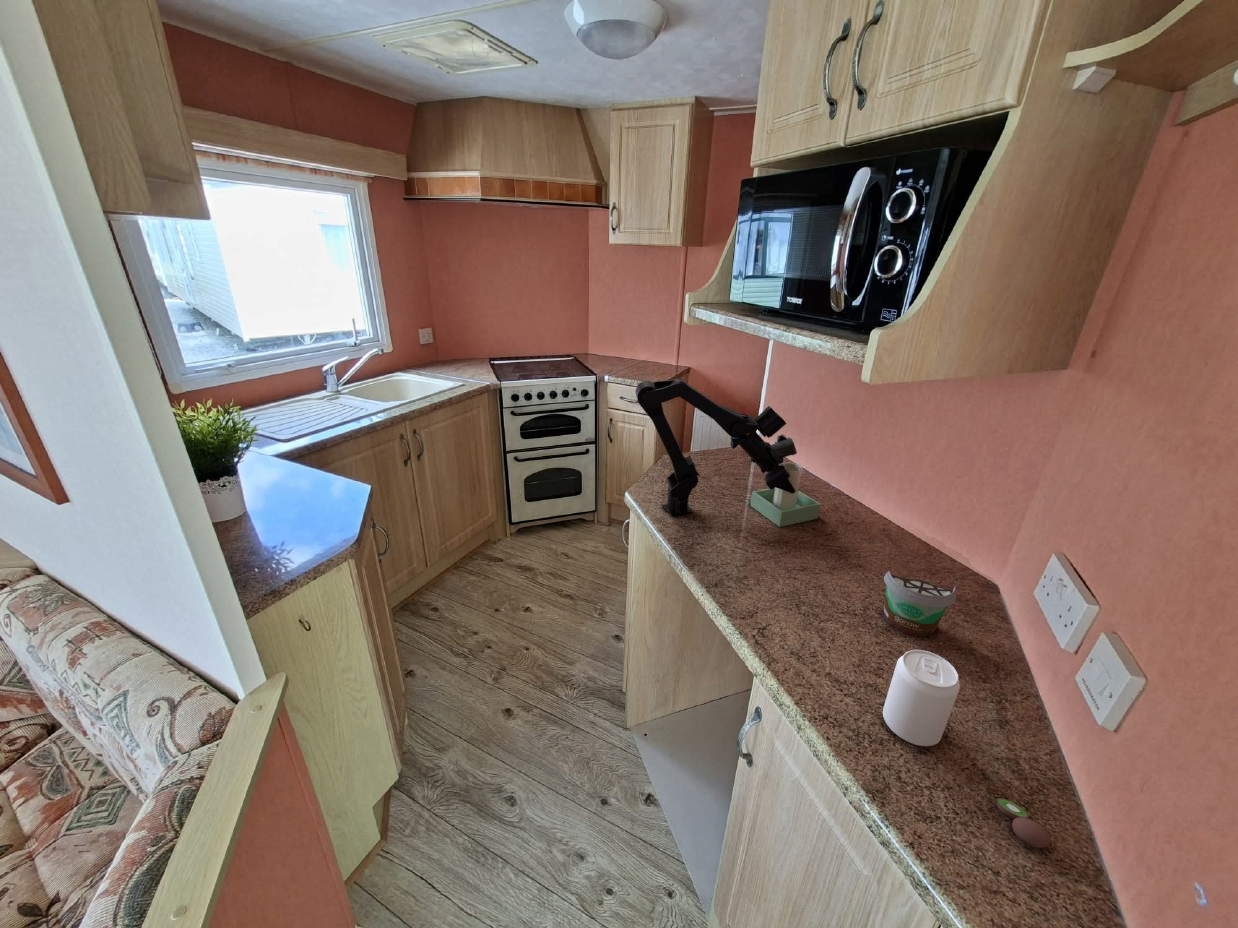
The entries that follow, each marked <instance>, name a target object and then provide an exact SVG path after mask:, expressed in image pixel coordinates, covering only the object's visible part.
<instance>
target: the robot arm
mask: <svg viewBox="0 0 1238 928" xmlns="http://www.w3.org/2000/svg"><path fill="white" fill-rule="evenodd" d="M635 396H636V400H637V402H638V404H639V406H640V407H641V409H642V410H643V411H644V412H645V414H646V415H647V416H648V417H649V418H650V420H651V421H652V423H653V426H654V428H655V430H656V432H657V434H658V436H659V438H660V440H661V442H662V444H663V447H664V448H665V450H666V452H667V454H668V457H669V459H670V462H671V466H672V470H673V472H672V473H670V474H669V475H668V476H667V477H666V482H667V485H668V487H667V503H665V504H662V508H663V509H664V510H665V511H666V513H668V514H669V515H670V516H671V517H676V516H682V515H686V514H691V513H692V512H693V510H692V509H691V508H690V507H689V497H690V495H691V494H692V491H693V489H694V488H696V487H697V485H698V483H699V476H700V473H699V470H698V469H697V467H696V464H695V463H694V461H693V459H692V456H691V454H689V455H687V456H685V455H684V453H683V452H682V450H681V447H680V445H679V443H678V441H677V438H676V437H675V435H674V432H673V430H672V428H671V426H670V424H669V421H668V419H667V417H666V415H665V412H664V408H663V407H664V406H663V403H667V402H669V401H671V400H673V399H677V398H681V399H682V400H684V401H685V402H686V403H688V404H689V405H691V406H692V407H694V408H696V409H697V410H699V411H700V412H701V413H703V414H705V415H706V416H707V417H709V418H711V419H712V420H713V421H714V422H715V423H716V424H717V425H718V426H719V427H720V428H721V429H722V430H723V431H724V432H725V433H726V434H727V435H728V436H729V437H730V444H729V445H730V447H731V449H732V450H734V449H736V448H738V446H739V447H740V448H741V449H742V450H743V451H744V452H745V454H746V455H747V456H748V457H749V458H750V461H751V462H752V463H753V464H755V465H757V467H758V468H759V469H760V472H761V473H762V474H765V473H766V474H765V476H764V482H765V485H766V486H767V487H768V489H769V488H770V489H774V488H775V487H776V488H779V489H781V490H784V491H787V492H789V493H792V494H793V493H795V492H796V491H795V489H794V487H793V486H792V484H791V482H790V481H789V479H788V478H789V477H790V474H789V471H788V469H786V468H785V466H780V465H779V464H781V463H784V458H787V457H791V456H795V455H797V454H798V450H797V448H796V445H795V442H794V440H793V438H791V437H787V436H786V435H784V434H780V435H777V439H776V441H775V442H774V443H773V444H771V443H770V442H769V441H765V440H764V439H763V438H762V437H761V436H763V437H764V438H768V439H769V438H772V437H773V436H774V435H776V433H777V432H779V431H780V430H781V429H783V428H784V427H785V426H786V425H787V422H786V421H785V420H784V418H783V417H782V416H780V414H778V413H777V412H776V411H775V410H774V409H773V408H772V407H771V406H770V405H768V406H767V407H765V409H763V411H762V412H761V413H759V414H758V415H757V416H756V417H755V418H753V417H752V416H750V415H743V414H740V413H739V412H738V411H736V410H733V409H731V408H729V407H726V406H723V405H720V404H718V403H717V402H716V401H714V400H712V399H711V398H710V397H708V396H706V395H705V394H704V393H702V392H700V390H697V389H696V388H694V387H693V386H691V385H690V384H689V383H687V382H686V381H685V380H684V379H682V378H675V379H669V380H668V379H667V380H657V381H651V380H644V381H641V382H639V383H638V384H637V386H636V387H635ZM757 431H758V432H759V433H760V434H761V436H760V435H759V433H758V432H757Z"/></svg>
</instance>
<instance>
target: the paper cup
mask: <svg viewBox="0 0 1238 928" xmlns="http://www.w3.org/2000/svg"><path fill="white" fill-rule="evenodd" d="M779 465H780V466H785V468H786V469H788V471H789V474H790V477H789V478H788V479H789V481H790V482H791V484H792V486H793V487H794V489H795V491H796V492H795V493H793V494H792V493H789V492H787V491H784V490H781V489H779V488H776V487H775V492H774V499H773V505H774V506H776V507H777V508H779V509H780V510H782V511H784V510H789V509H793V508H796V504H797V498H798V492H799V491H800V485H801V479H802V474H803V467H802V466H801V465H799V464H797V463H795V462H783V463H781V464H779Z"/></svg>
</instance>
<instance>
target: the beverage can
mask: <svg viewBox="0 0 1238 928" xmlns="http://www.w3.org/2000/svg"><path fill="white" fill-rule="evenodd" d="M960 689H961V683H960V679H959V674H958V671H957V670H956V668H955V667H954V666H953V665H952V663H950V662H949V661H948V660H947V659H945V658H944V657H942V656H940V655H938V654H936V653H934V652H931V651H928V650H923V649H911V650H908V651H906V652H904V654H903V655H901V656H900V657H899V658H898V660H897V661H896V664H895V668H894V671H893V675H892V678H891V681H890V685H889V687H888V691H887V694H886V698H885V701H884V705H883V708H882V716H883V720H884V722H885V723H886V724H885V725H887V726H888V728H889V729H890V730H891V731H892V732H893V733H894V734H895V735H897V736H898V737H899V738H900V739H902V740H904V741H906V742H908V743H910V744H912V745H916V746H919V747H931V746H935V745H937V744H939V742H940V741H941V740H942V737H943V735H944V732H945V729H946V727H947V724H948V721H949V720H950V719H949V718H950V716H951V713H952V711H953V709H954V705H955V703H956V700H957V697H958V695H959V692H960Z"/></svg>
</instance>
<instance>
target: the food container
mask: <svg viewBox="0 0 1238 928" xmlns="http://www.w3.org/2000/svg"><path fill="white" fill-rule="evenodd" d="M883 581H884V584H885V585H886V586H885V594H884V602H883V604H884V605H883V616H884V618H885V620H886V621H887V622H888V623H889V624H890V625H891V626H892V627H894V628H896V629H897V630H898V631H901V632H902V633H904V634H908V635H911V636H917V637H926V636H927V637H928V636H930V635H933V634H934V633H935V632H936V630H937V628H938V626H939V624H940V622H941V620H942V618H943V616H944V614H945V612H946V609H947V608H948V607H949V606H951V605H953V604H954V603H955V601H956V599H957V589H956V586H953V589H950V588H946V587H941V586H938V585H934V584H932V583H929V582H926V581H923V580H921V579H920V580H919V579H913V578H906V577H901V576H897V575H893V574H892V573H891V570H888V571H886V573H885V575H884V576H883Z"/></svg>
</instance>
